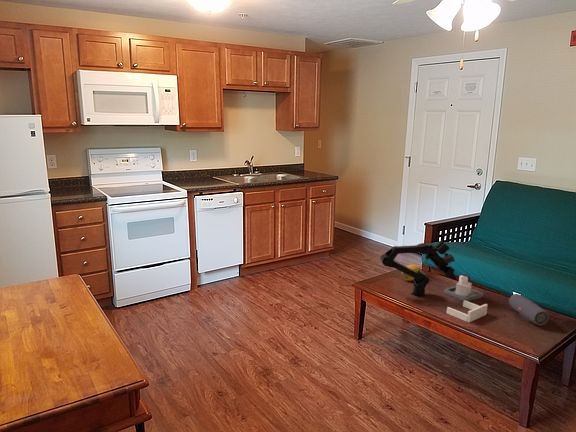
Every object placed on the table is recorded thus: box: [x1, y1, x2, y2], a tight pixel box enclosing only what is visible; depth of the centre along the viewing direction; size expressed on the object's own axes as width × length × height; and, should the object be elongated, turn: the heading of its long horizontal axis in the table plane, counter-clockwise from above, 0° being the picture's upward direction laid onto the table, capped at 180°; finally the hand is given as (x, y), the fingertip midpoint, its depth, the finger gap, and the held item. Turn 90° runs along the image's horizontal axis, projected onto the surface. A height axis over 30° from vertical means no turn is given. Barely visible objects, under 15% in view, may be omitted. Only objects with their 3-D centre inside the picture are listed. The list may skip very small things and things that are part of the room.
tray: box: [443, 285, 484, 302], centre depth 267 cm, size 16×16×2 cm
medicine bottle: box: [455, 274, 472, 297], centre depth 266 cm, size 7×7×12 cm
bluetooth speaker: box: [508, 293, 550, 326], centre depth 236 cm, size 23×9×10 cm, turn 5°
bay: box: [446, 300, 489, 323], centre depth 241 cm, size 14×17×6 cm
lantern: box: [398, 263, 425, 282], centre depth 291 cm, size 10×10×30 cm
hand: (452, 276), depth 264 cm, fingers open, 9 cm apart
